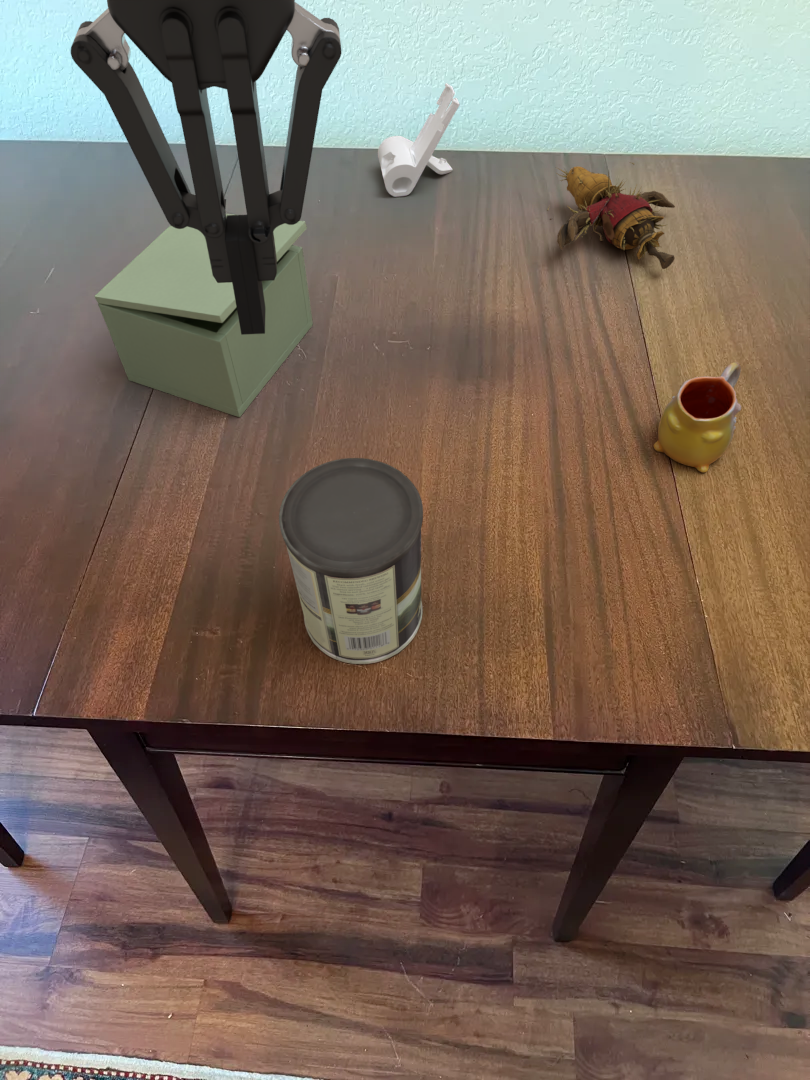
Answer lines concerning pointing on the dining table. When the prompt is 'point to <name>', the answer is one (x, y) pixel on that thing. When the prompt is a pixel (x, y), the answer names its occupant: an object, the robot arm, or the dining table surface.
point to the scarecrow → (614, 214)
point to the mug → (700, 419)
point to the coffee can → (356, 557)
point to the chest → (215, 344)
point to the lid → (181, 276)
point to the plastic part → (417, 149)
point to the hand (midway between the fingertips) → (253, 320)
